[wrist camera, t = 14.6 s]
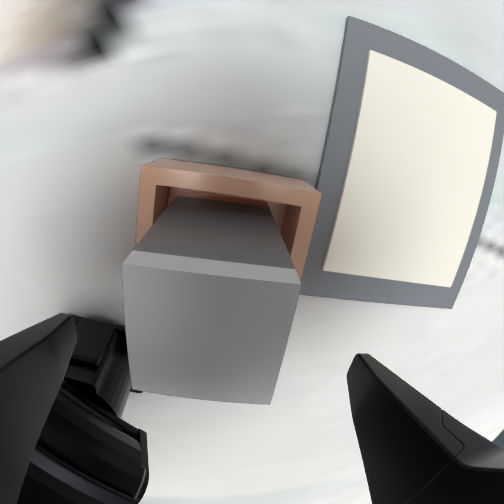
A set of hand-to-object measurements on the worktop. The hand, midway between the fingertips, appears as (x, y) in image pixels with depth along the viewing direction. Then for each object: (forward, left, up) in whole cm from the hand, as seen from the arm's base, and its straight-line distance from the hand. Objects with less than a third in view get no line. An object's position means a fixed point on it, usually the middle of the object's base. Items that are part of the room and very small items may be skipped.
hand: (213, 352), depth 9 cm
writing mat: (+6, -12, -11) cm, 17 cm away
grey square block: (0, 0, -10) cm, 10 cm away
